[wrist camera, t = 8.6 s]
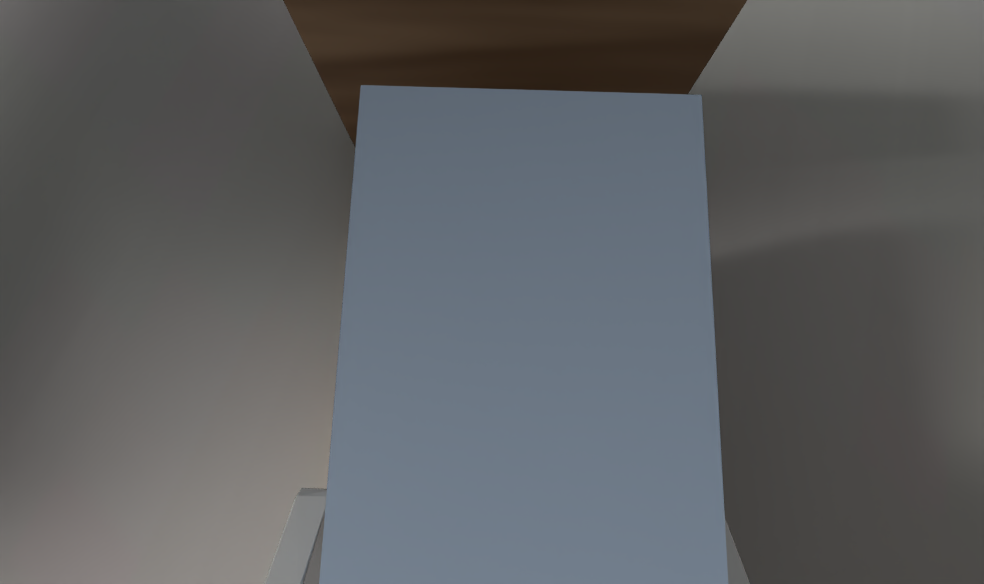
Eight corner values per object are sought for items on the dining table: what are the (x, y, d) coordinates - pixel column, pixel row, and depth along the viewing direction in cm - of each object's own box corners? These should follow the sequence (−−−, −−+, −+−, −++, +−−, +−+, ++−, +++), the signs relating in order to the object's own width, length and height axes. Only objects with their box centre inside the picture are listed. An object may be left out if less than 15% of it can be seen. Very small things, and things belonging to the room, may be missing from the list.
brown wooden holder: (651, 732, 17) (1139, 1668, 4) (319, 723, 17) (-173, 1641, 4) (635, 124, 21) (861, -313, 9) (368, 115, 21) (190, -337, 9)
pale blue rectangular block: (563, 561, 15) (746, 917, 4) (430, 557, 15) (293, 905, 4) (563, 302, 17) (701, 95, 6) (442, 298, 17) (360, 85, 6)
